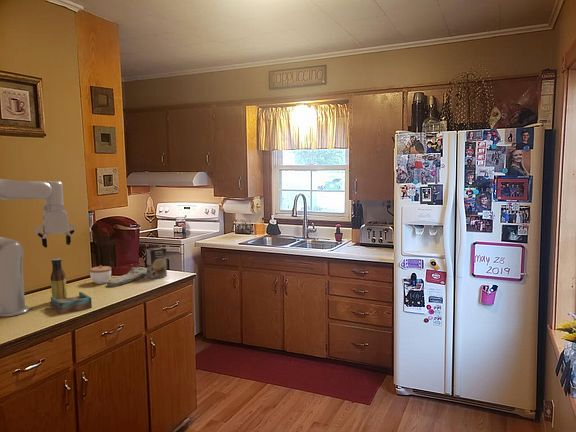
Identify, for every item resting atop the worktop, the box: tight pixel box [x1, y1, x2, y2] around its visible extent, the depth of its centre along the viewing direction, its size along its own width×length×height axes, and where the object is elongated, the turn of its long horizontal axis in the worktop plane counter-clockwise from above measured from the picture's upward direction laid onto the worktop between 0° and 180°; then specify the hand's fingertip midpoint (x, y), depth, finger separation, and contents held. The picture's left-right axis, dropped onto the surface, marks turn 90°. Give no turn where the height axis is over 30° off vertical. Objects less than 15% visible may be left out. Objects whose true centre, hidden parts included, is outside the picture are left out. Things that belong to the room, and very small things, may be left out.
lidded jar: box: [89, 264, 112, 285], centre depth 248 cm, size 11×11×9 cm
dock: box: [50, 291, 93, 315], centre depth 205 cm, size 13×14×4 cm
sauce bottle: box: [50, 257, 68, 300], centre depth 213 cm, size 7×6×20 cm
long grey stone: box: [106, 266, 147, 288], centre depth 255 cm, size 35×5×10 cm
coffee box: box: [146, 246, 168, 279], centre depth 260 cm, size 9×6×16 cm
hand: (56, 245), depth 212 cm, fingers open, 9 cm apart
